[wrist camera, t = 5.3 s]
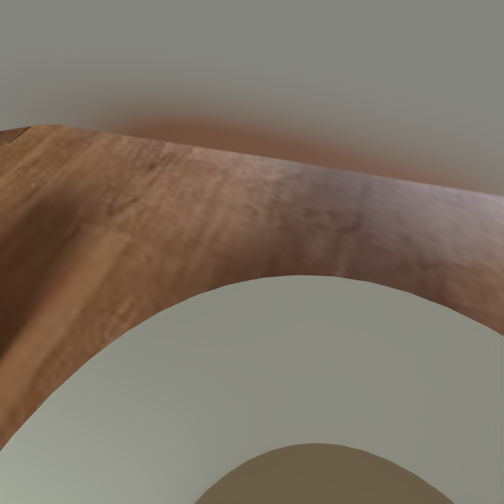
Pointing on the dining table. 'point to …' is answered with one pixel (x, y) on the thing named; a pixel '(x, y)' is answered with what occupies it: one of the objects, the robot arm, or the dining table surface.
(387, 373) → the white paper towel roll
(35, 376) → the dining table surface
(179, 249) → the dining table surface
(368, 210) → the dining table surface
